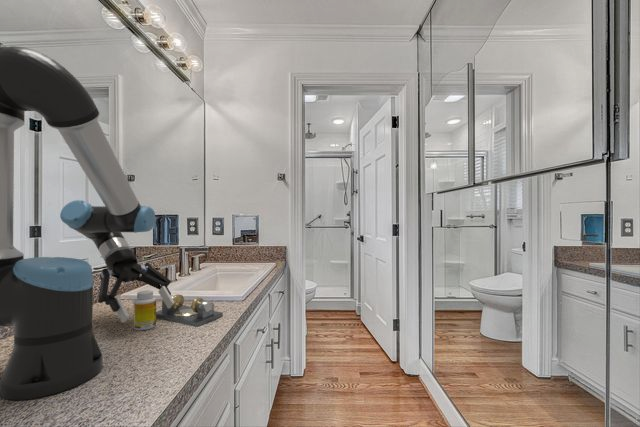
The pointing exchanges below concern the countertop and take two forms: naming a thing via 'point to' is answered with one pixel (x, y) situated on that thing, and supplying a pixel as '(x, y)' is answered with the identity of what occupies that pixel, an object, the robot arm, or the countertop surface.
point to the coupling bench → (189, 311)
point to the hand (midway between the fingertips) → (150, 312)
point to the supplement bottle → (144, 310)
